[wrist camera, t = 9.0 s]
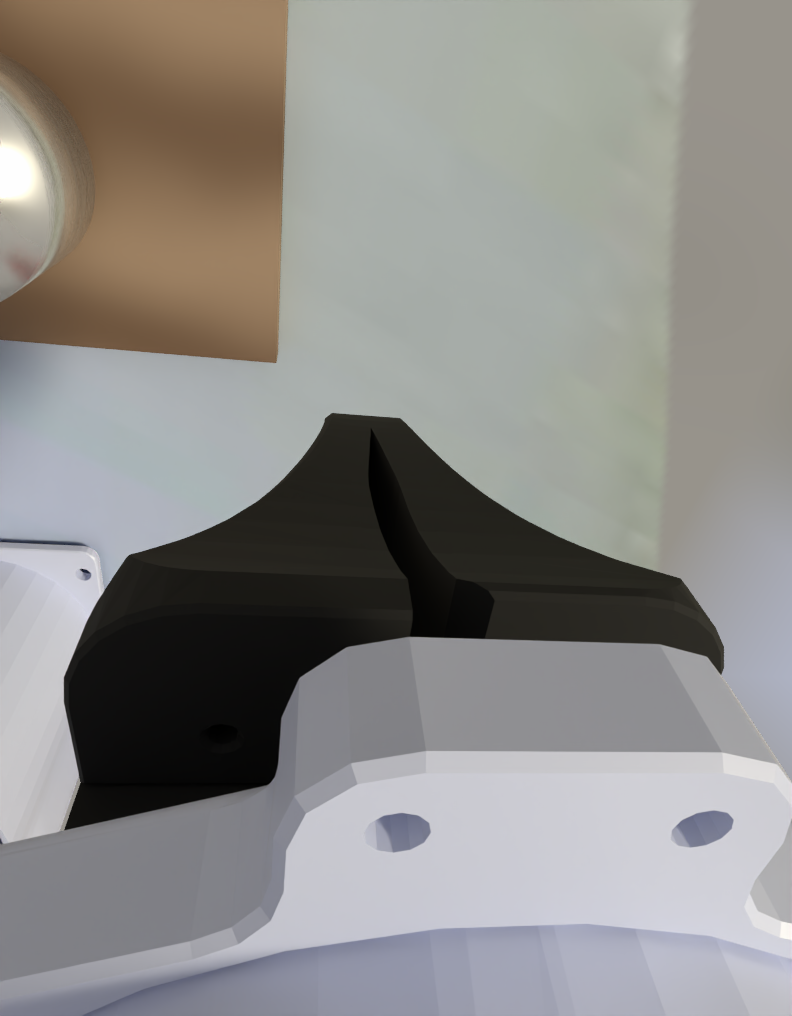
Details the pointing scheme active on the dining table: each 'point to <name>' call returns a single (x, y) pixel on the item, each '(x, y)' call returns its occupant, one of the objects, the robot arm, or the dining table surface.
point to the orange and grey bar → (38, 178)
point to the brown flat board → (163, 173)
